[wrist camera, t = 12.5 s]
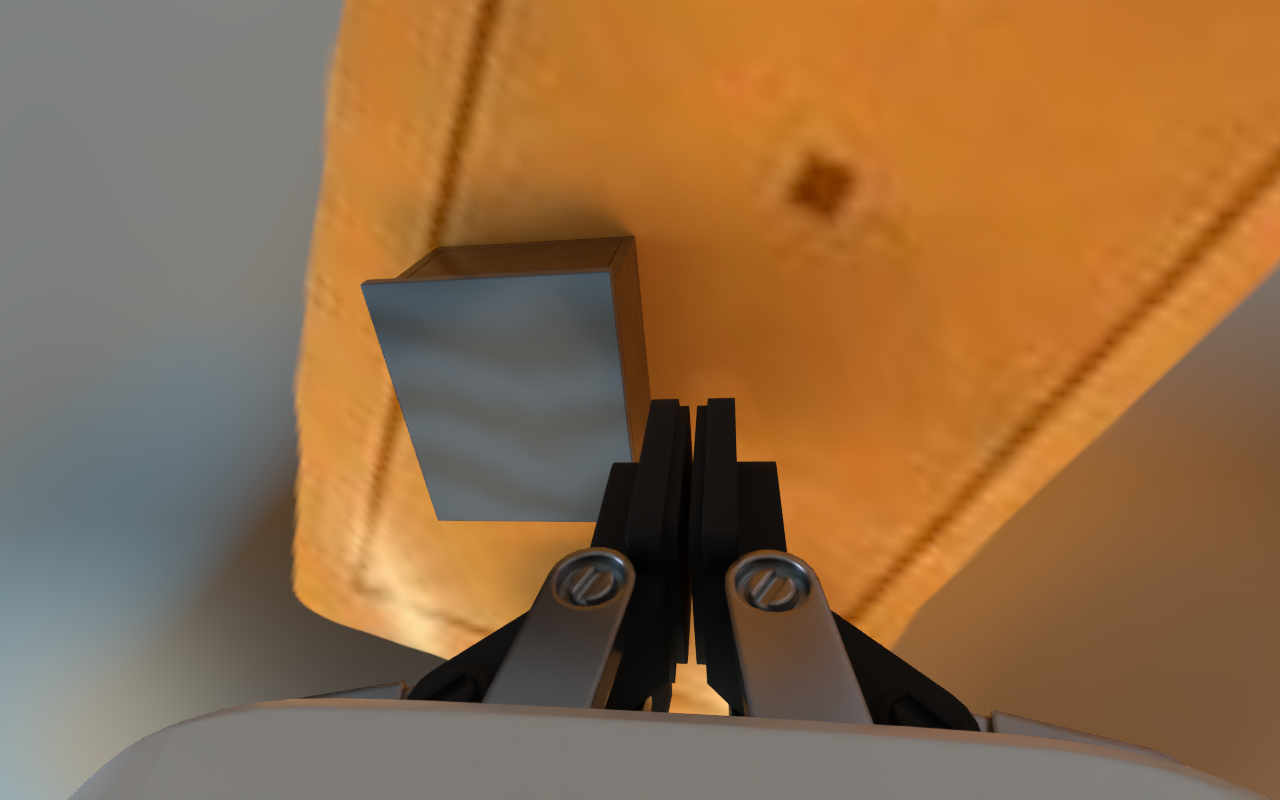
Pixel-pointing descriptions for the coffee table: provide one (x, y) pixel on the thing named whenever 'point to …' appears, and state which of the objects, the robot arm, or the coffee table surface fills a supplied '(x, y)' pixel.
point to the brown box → (563, 257)
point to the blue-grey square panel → (508, 389)
